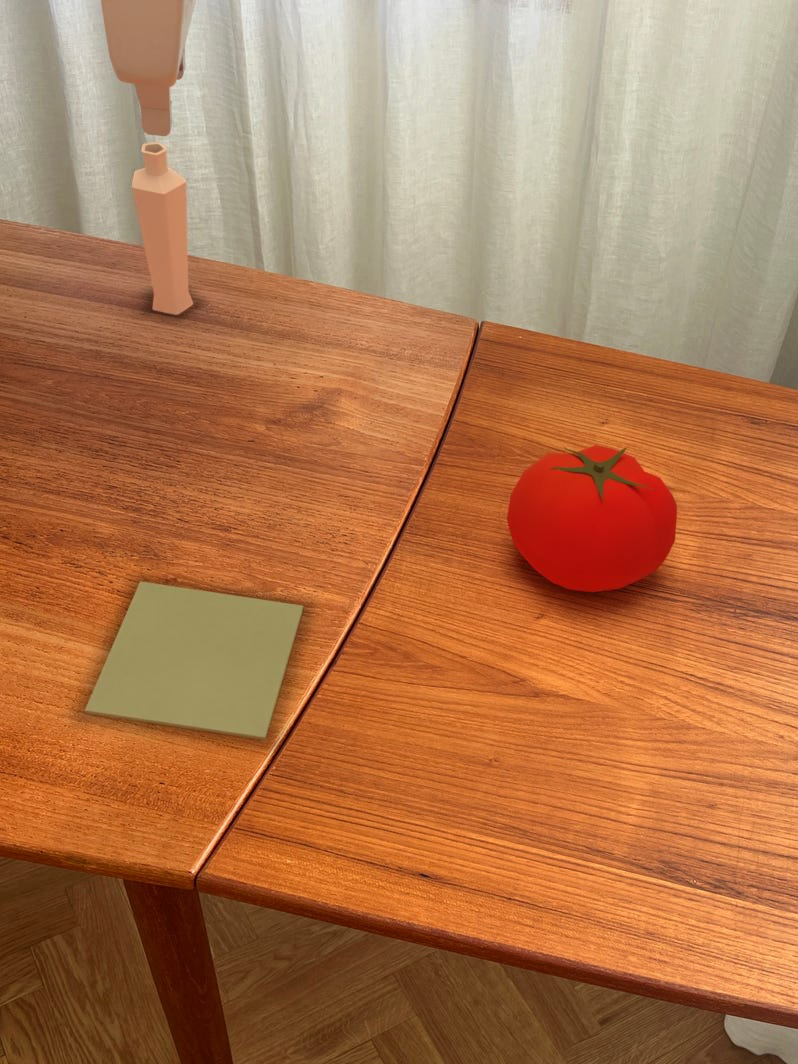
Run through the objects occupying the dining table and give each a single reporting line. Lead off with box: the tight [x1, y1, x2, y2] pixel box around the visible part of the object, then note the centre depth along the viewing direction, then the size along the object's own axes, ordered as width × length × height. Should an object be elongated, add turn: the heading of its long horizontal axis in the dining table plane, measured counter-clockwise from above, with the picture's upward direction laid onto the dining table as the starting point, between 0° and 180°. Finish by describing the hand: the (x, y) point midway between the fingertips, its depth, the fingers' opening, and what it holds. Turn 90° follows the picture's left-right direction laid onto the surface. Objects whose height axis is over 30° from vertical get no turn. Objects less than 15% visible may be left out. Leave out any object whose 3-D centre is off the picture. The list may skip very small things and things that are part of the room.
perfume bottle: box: [131, 142, 194, 316], centre depth 101 cm, size 5×4×15 cm
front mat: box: [84, 581, 305, 741], centre depth 80 cm, size 12×12×1 cm
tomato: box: [506, 444, 678, 593], centre depth 86 cm, size 11×13×10 cm
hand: (165, 102), depth 79 cm, fingers open, 8 cm apart
